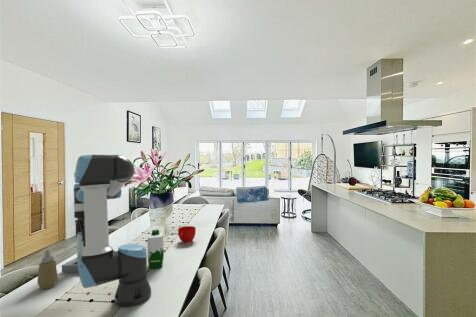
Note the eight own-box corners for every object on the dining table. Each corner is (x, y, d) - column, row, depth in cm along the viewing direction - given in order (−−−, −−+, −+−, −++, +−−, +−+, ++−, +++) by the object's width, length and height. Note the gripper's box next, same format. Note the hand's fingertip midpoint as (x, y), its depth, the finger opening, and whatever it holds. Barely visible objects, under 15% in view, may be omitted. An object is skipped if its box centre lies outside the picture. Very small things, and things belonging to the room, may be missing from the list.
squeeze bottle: (55, 281, 130) (54, 246, 130) (60, 285, 125) (59, 249, 125) (35, 287, 124) (34, 251, 124) (39, 292, 119) (39, 254, 119)
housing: (88, 273, 138) (88, 266, 138) (61, 272, 140) (61, 265, 140) (114, 256, 162) (114, 250, 162) (92, 255, 164) (92, 249, 164)
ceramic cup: (172, 245, 180) (172, 232, 180) (183, 238, 197) (182, 225, 197) (189, 247, 177) (188, 232, 177) (198, 239, 194) (198, 226, 194)
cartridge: (89, 261, 145) (88, 231, 145) (79, 264, 141) (78, 233, 141) (85, 259, 148) (85, 230, 148) (75, 262, 144) (75, 232, 144)
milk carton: (163, 261, 152) (163, 228, 152) (163, 268, 143) (163, 233, 143) (148, 263, 150) (148, 230, 150) (147, 270, 141) (146, 234, 141)
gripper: (95, 210, 142) (96, 251, 142) (82, 207, 153) (83, 245, 153) (81, 212, 136) (82, 255, 136) (68, 209, 147) (69, 249, 147)
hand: (82, 250), depth 145 cm, fingers closed on cartridge, 5 cm apart
